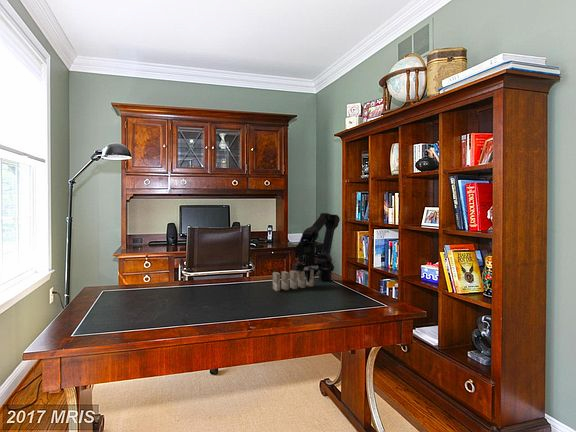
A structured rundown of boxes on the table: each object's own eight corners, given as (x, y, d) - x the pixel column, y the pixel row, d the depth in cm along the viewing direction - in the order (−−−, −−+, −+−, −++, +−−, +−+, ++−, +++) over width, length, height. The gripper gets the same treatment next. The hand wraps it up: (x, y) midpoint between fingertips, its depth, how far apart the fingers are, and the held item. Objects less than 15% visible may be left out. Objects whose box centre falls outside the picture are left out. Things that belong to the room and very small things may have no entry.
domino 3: (293, 286, 209) (293, 270, 208) (297, 288, 204) (297, 272, 204) (289, 287, 208) (289, 270, 207) (293, 289, 203) (293, 272, 203)
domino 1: (276, 288, 204) (276, 271, 204) (280, 290, 200) (280, 273, 199) (272, 289, 203) (272, 272, 203) (276, 291, 199) (276, 274, 198)
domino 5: (309, 284, 213) (309, 268, 213) (313, 286, 209) (313, 269, 208) (305, 284, 212) (306, 268, 212) (310, 286, 208) (310, 270, 207)
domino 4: (301, 285, 211) (300, 269, 210) (305, 287, 207) (304, 271, 206) (297, 286, 210) (296, 270, 209) (302, 288, 206) (301, 271, 205)
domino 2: (284, 287, 206) (284, 271, 206) (288, 289, 202) (288, 272, 202) (281, 288, 205) (281, 271, 205) (285, 290, 201) (285, 273, 201)
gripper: (317, 250, 221) (317, 277, 222) (288, 252, 212) (287, 280, 213) (327, 252, 211) (327, 281, 212) (297, 255, 202) (297, 284, 203)
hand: (309, 281), depth 210 cm, fingers closed on domino 5, 2 cm apart
